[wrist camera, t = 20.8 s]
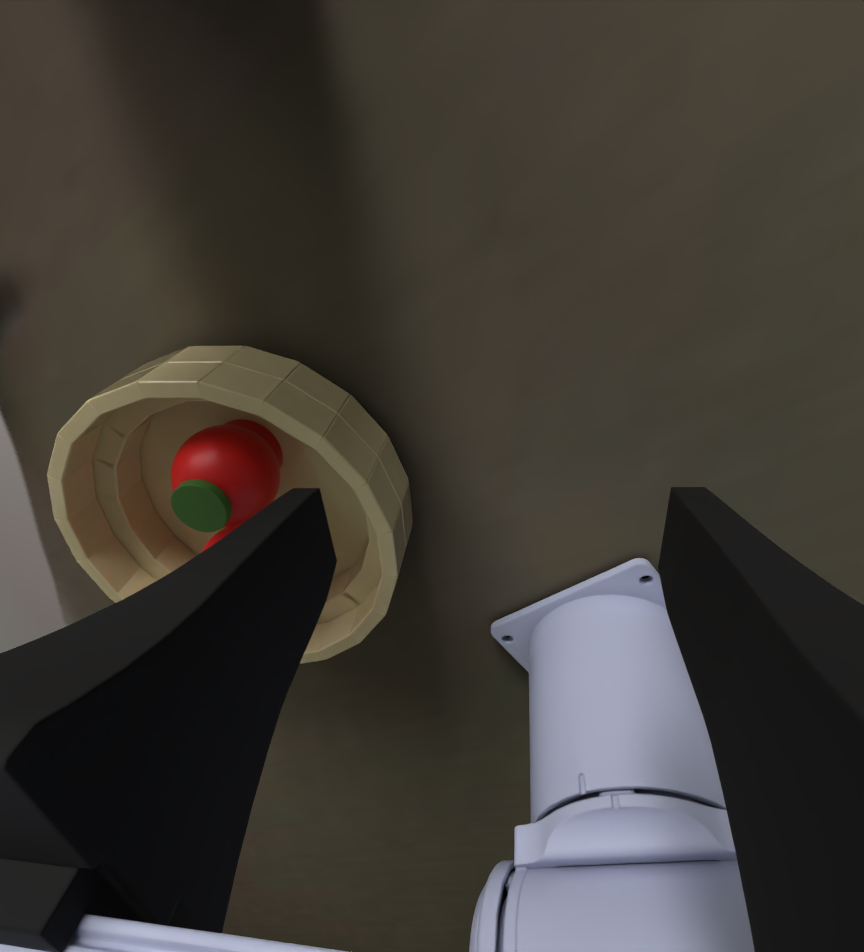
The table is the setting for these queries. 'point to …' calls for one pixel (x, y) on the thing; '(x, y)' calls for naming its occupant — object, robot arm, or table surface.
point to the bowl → (303, 466)
